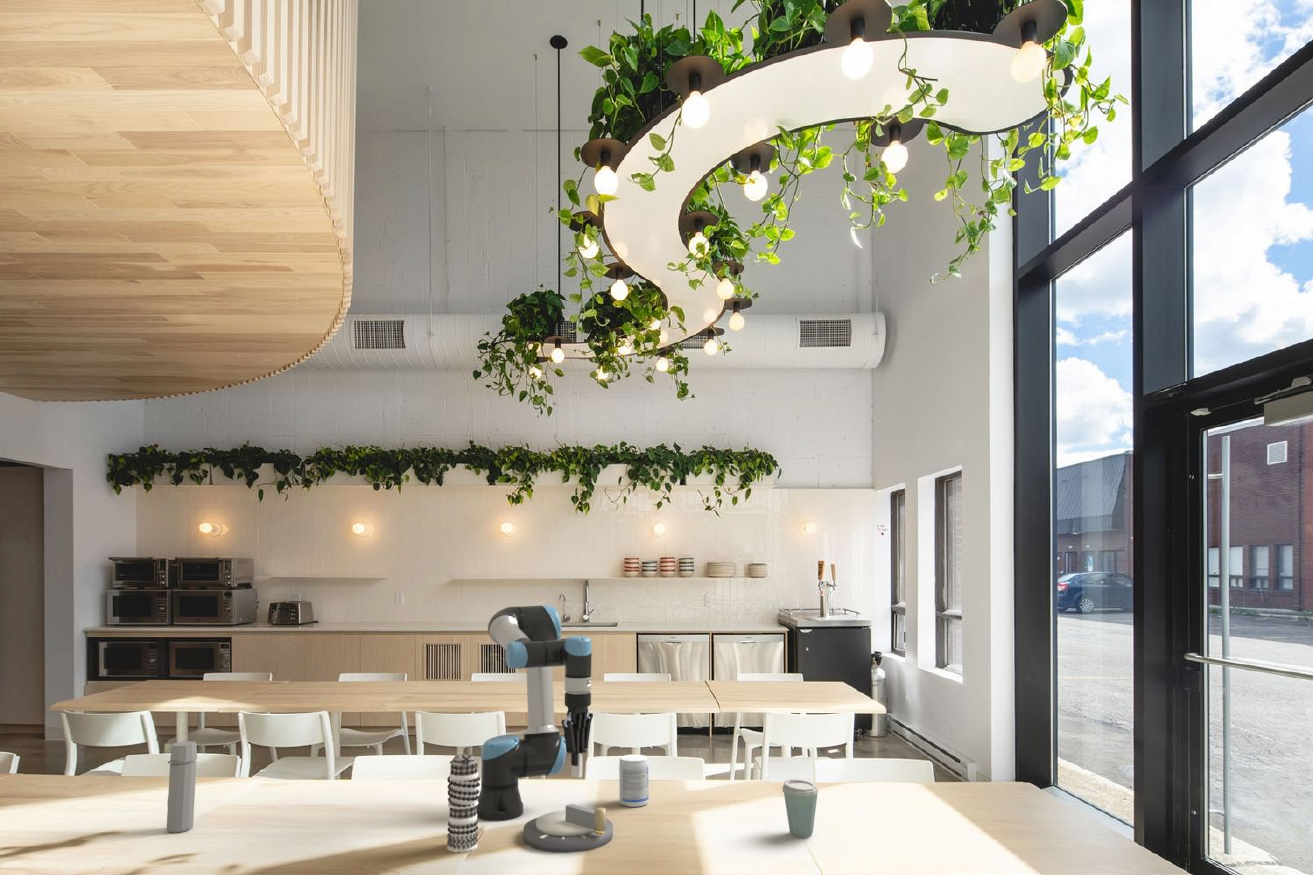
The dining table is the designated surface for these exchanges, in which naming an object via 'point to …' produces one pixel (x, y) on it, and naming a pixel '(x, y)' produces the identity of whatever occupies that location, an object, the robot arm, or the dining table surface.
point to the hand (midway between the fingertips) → (576, 776)
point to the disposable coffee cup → (800, 806)
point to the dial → (572, 821)
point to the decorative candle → (463, 803)
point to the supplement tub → (633, 780)
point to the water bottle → (181, 787)
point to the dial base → (566, 839)
